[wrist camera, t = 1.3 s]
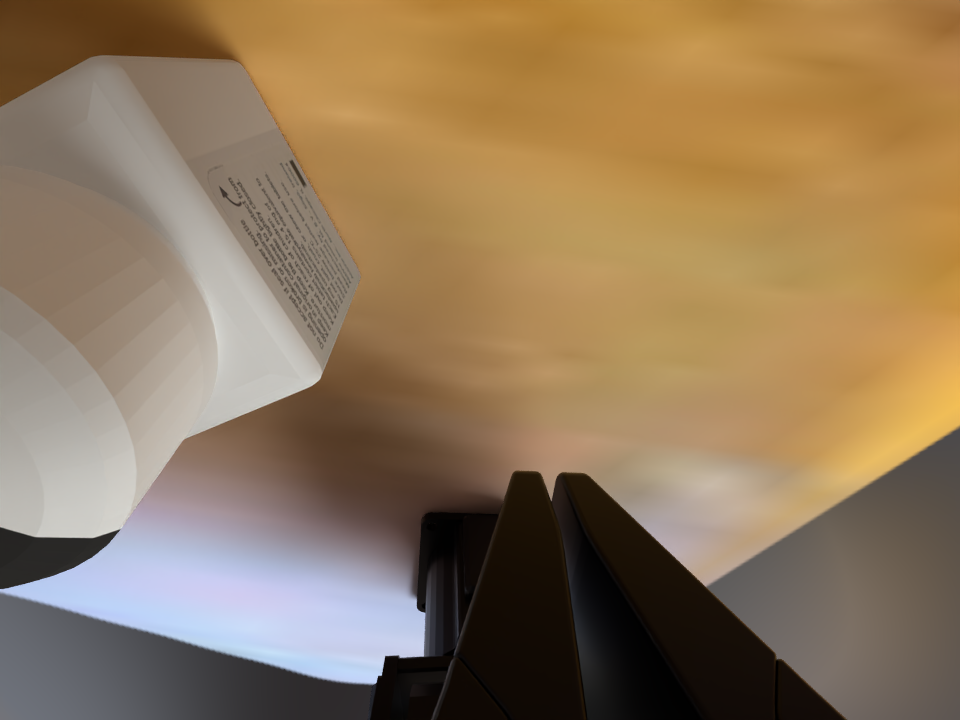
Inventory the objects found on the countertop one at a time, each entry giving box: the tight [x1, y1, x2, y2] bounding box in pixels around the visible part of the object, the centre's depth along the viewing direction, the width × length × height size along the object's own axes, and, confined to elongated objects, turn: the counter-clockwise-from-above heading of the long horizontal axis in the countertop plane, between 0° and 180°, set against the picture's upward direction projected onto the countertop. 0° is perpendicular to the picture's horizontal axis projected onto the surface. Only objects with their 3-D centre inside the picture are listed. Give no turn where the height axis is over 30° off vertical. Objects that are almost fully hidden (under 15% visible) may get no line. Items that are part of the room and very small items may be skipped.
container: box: [0, 55, 361, 589], centre depth 13 cm, size 8×8×13 cm
